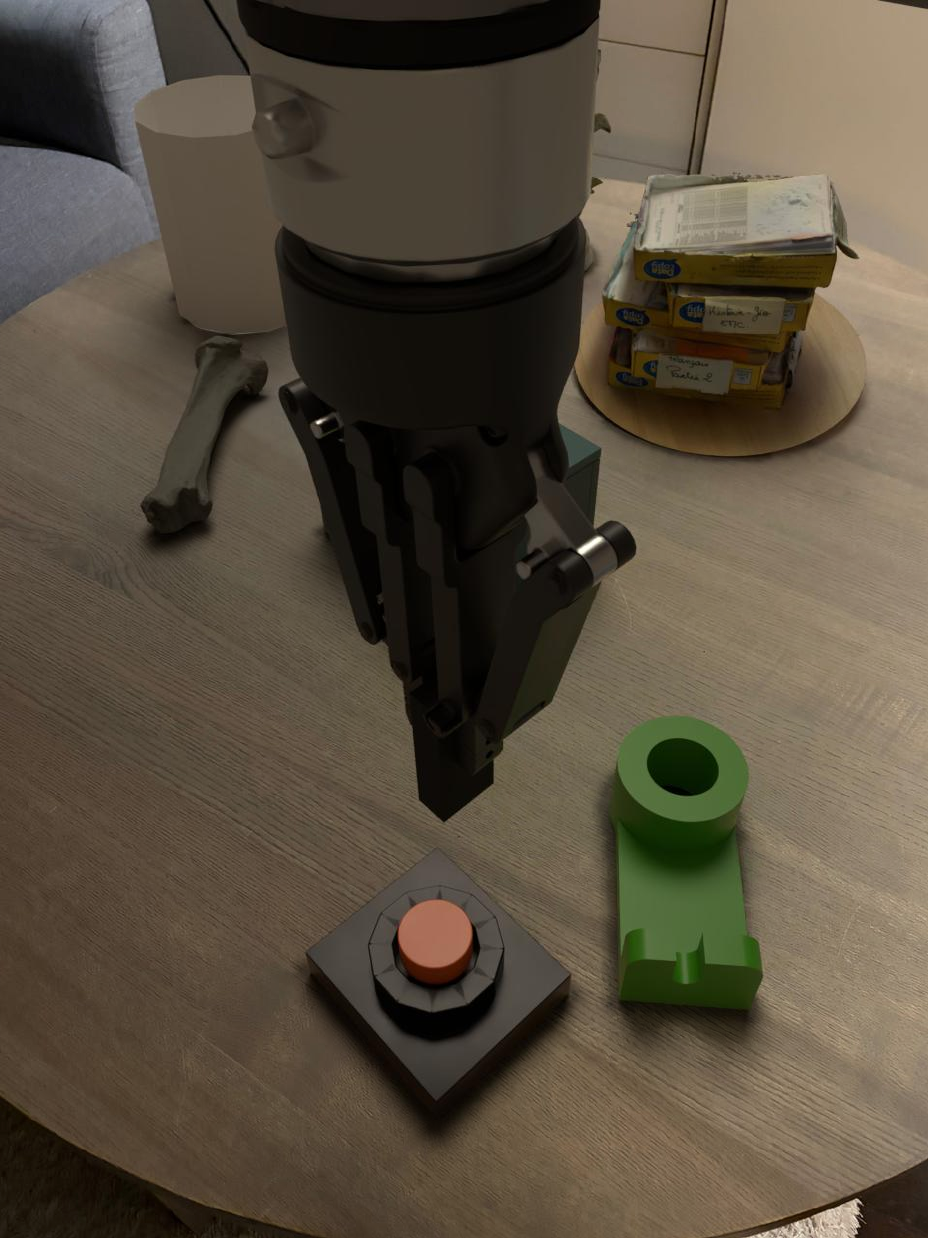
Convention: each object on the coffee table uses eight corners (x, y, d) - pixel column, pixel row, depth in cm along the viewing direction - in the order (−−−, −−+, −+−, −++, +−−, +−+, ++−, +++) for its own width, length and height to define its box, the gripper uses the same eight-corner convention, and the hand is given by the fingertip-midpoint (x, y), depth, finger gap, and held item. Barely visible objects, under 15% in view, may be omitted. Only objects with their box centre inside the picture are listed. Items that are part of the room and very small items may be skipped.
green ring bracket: (609, 760, 63) (616, 712, 60) (727, 767, 63) (741, 719, 60) (612, 999, 53) (621, 957, 50) (755, 1010, 53) (773, 968, 49)
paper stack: (823, 488, 81) (883, 290, 69) (530, 411, 89) (538, 220, 77) (881, 336, 97) (938, 153, 85) (627, 281, 104) (646, 106, 92)
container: (258, 247, 110) (228, 63, 97) (354, 290, 104) (336, 99, 91) (147, 300, 103) (99, 109, 90) (243, 350, 96) (205, 151, 83)
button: (488, 951, 51) (488, 934, 50) (432, 1000, 49) (431, 984, 48) (439, 902, 53) (438, 885, 52) (384, 948, 51) (382, 931, 50)
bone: (205, 378, 93) (190, 317, 89) (277, 379, 93) (265, 318, 88) (134, 543, 78) (112, 478, 74) (219, 545, 78) (202, 480, 73)
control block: (569, 994, 53) (574, 957, 50) (437, 1120, 49) (434, 1088, 46) (439, 867, 58) (436, 828, 56) (309, 971, 54) (300, 935, 51)
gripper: (148, 179, 26) (283, 749, 43) (510, 380, 20) (504, 965, 36) (376, 101, 30) (419, 656, 47) (750, 248, 23) (644, 837, 40)
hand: (456, 791), depth 42 cm, fingers closed
